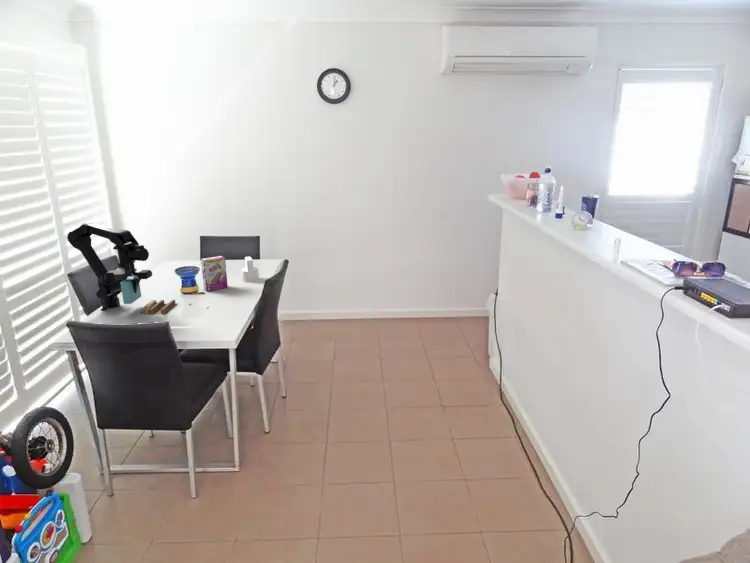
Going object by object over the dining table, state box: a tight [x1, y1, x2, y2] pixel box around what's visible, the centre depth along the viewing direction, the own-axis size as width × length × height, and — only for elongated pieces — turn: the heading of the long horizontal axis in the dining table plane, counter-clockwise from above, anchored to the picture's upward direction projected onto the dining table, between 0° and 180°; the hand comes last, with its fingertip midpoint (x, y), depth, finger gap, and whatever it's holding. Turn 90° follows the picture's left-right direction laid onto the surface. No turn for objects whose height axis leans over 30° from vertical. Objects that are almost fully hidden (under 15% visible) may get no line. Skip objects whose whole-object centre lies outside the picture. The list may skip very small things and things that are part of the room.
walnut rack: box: [139, 299, 180, 316], centre depth 227 cm, size 12×14×3 cm
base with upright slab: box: [240, 256, 260, 283], centre depth 270 cm, size 9×9×12 cm
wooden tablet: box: [188, 291, 209, 310], centre depth 240 cm, size 27×10×2 cm, turn 20°
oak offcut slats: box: [141, 299, 158, 313], centre depth 227 cm, size 3×10×2 cm, turn 179°
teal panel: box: [120, 277, 142, 305], centre depth 225 cm, size 3×10×10 cm, turn 179°
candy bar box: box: [200, 255, 228, 292], centre depth 256 cm, size 11×5×16 cm, turn 126°
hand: (131, 292), depth 225 cm, fingers closed on teal panel, 3 cm apart
